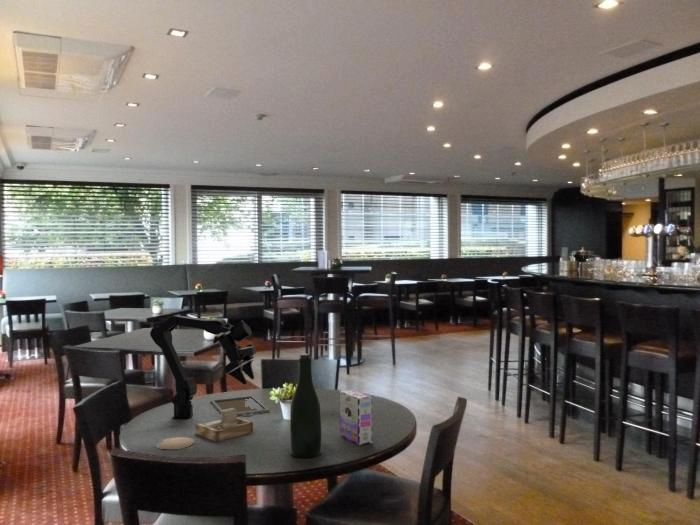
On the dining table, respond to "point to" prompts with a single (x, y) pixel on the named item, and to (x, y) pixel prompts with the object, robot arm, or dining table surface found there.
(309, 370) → the green wine bottle
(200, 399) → the dining table surface
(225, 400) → the picture frame
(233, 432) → the frame
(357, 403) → the candy box
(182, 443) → the cork mat
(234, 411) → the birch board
